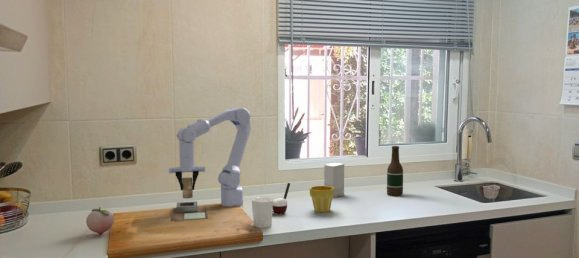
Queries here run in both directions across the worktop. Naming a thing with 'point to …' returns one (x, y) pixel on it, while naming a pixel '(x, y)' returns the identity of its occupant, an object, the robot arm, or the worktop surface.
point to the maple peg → (187, 187)
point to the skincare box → (334, 177)
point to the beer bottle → (395, 175)
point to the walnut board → (180, 216)
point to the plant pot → (322, 197)
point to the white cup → (262, 212)
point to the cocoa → (281, 203)
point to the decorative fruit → (100, 221)
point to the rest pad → (194, 216)
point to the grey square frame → (186, 207)
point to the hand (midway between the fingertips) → (187, 189)
